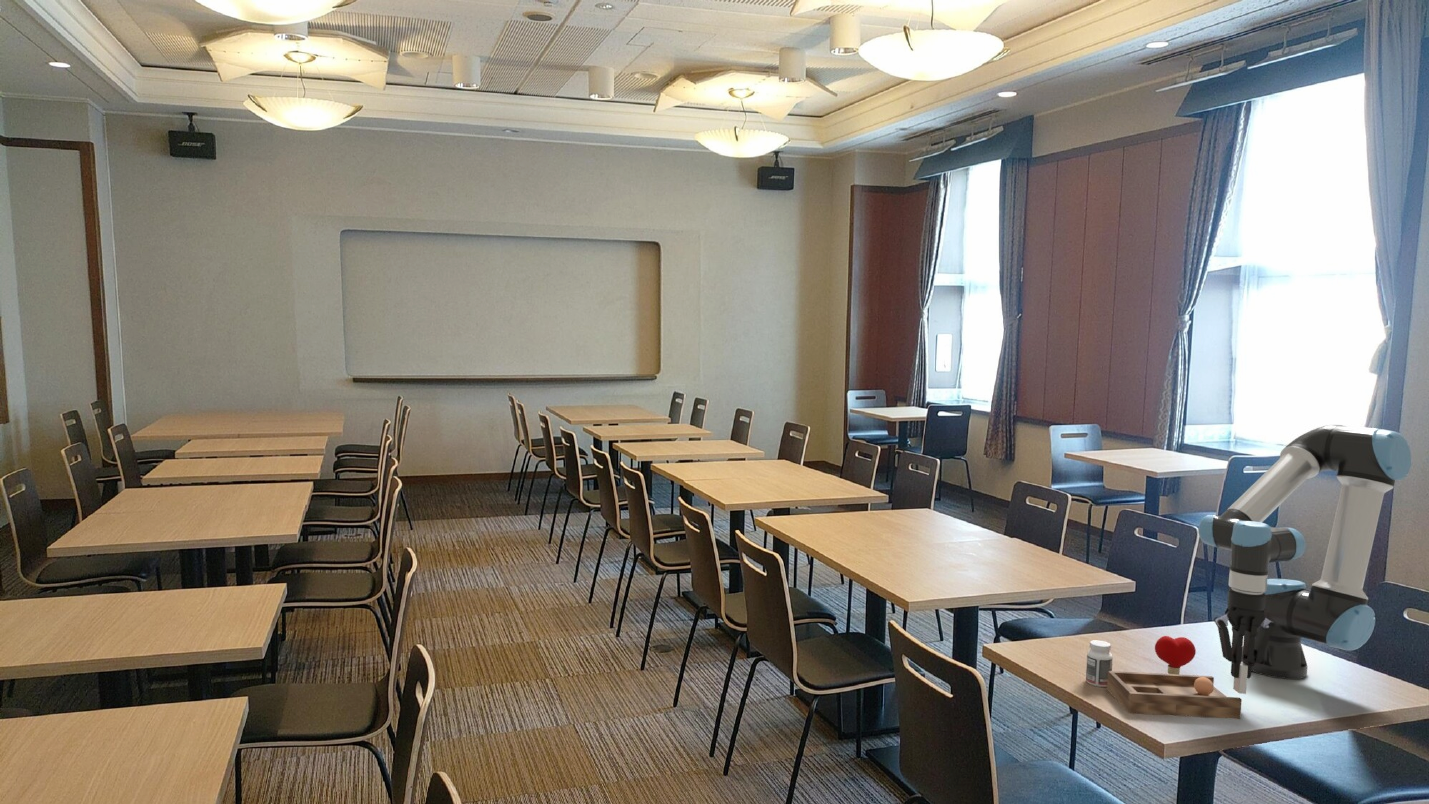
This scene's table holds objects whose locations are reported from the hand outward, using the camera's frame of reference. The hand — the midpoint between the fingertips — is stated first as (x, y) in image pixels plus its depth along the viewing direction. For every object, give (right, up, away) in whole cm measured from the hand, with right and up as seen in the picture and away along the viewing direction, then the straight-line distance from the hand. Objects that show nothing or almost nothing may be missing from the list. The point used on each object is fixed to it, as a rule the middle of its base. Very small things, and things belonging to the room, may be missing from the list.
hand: (1239, 691), depth 211 cm
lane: (-15, -3, +1) cm, 15 cm away
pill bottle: (-27, -2, +13) cm, 30 cm away
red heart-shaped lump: (-6, -2, +19) cm, 20 cm away
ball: (-8, -1, +1) cm, 8 cm away
